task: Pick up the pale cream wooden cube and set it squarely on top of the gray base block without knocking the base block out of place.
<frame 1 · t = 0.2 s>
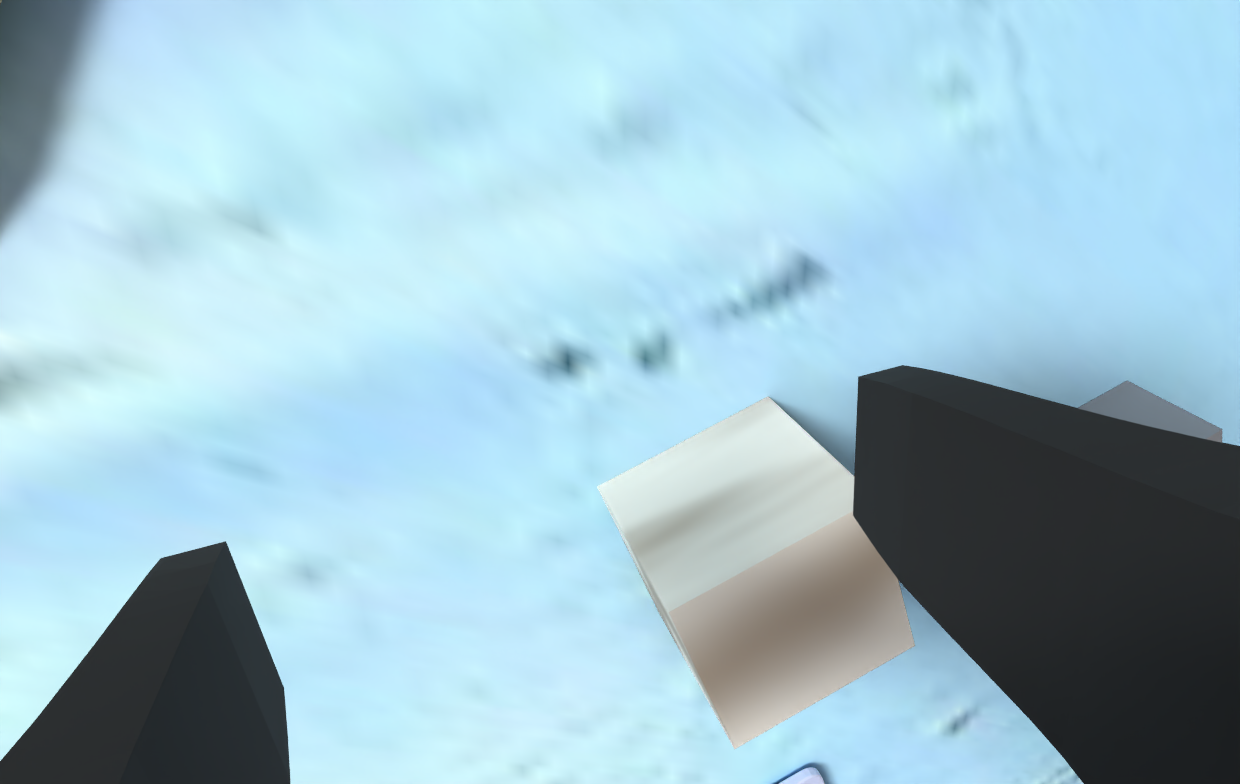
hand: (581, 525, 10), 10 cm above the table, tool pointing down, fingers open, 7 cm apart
cream cube: (710, 508, 23), on the table
gray base block: (1035, 509, 28), on the table
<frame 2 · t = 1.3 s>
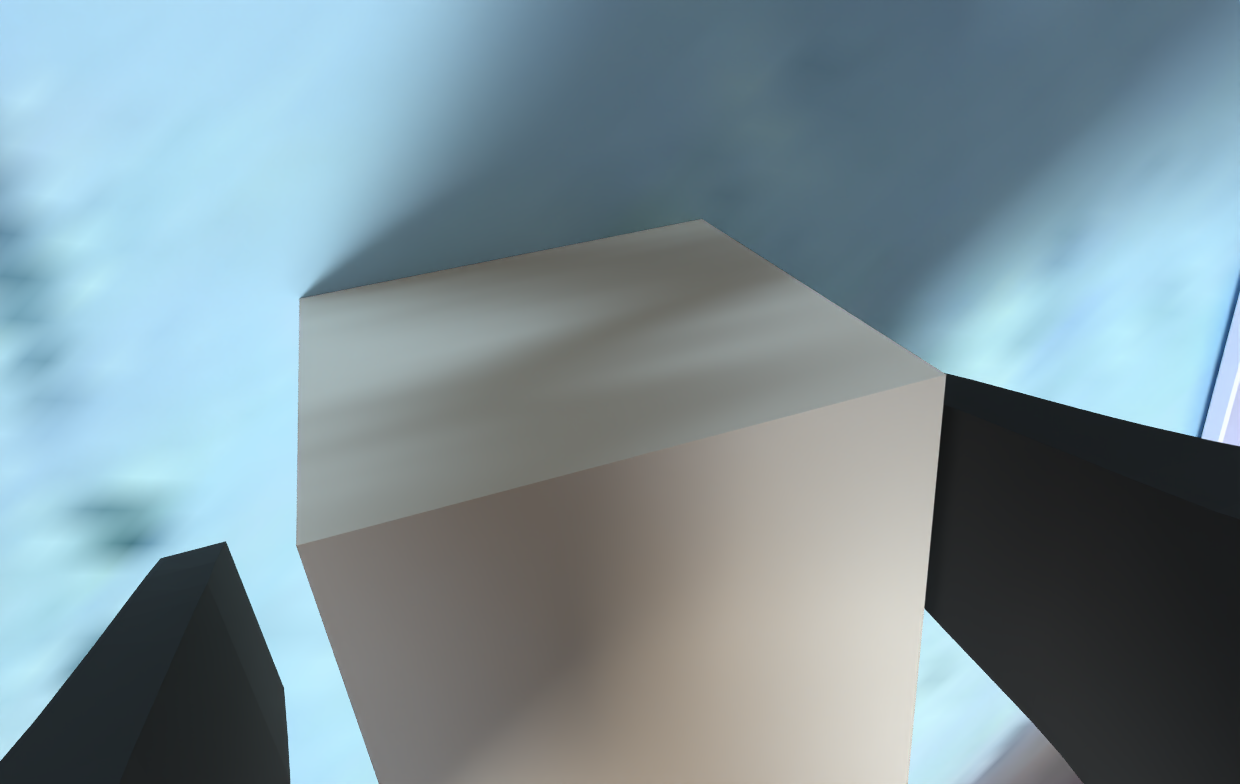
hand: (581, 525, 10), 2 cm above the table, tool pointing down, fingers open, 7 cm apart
cream cube: (539, 429, 12), on the table
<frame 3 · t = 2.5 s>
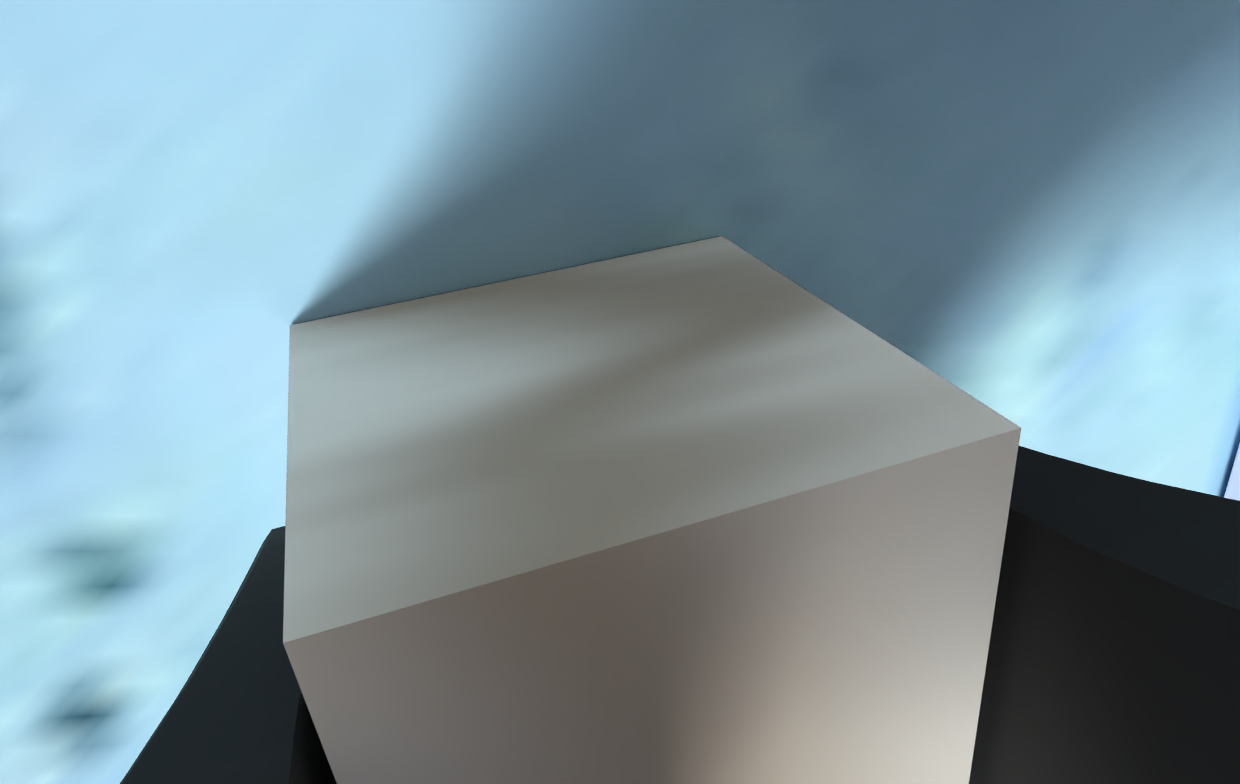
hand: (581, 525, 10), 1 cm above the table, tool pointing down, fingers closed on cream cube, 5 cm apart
cream cube: (549, 463, 11), on the table, touching gripper
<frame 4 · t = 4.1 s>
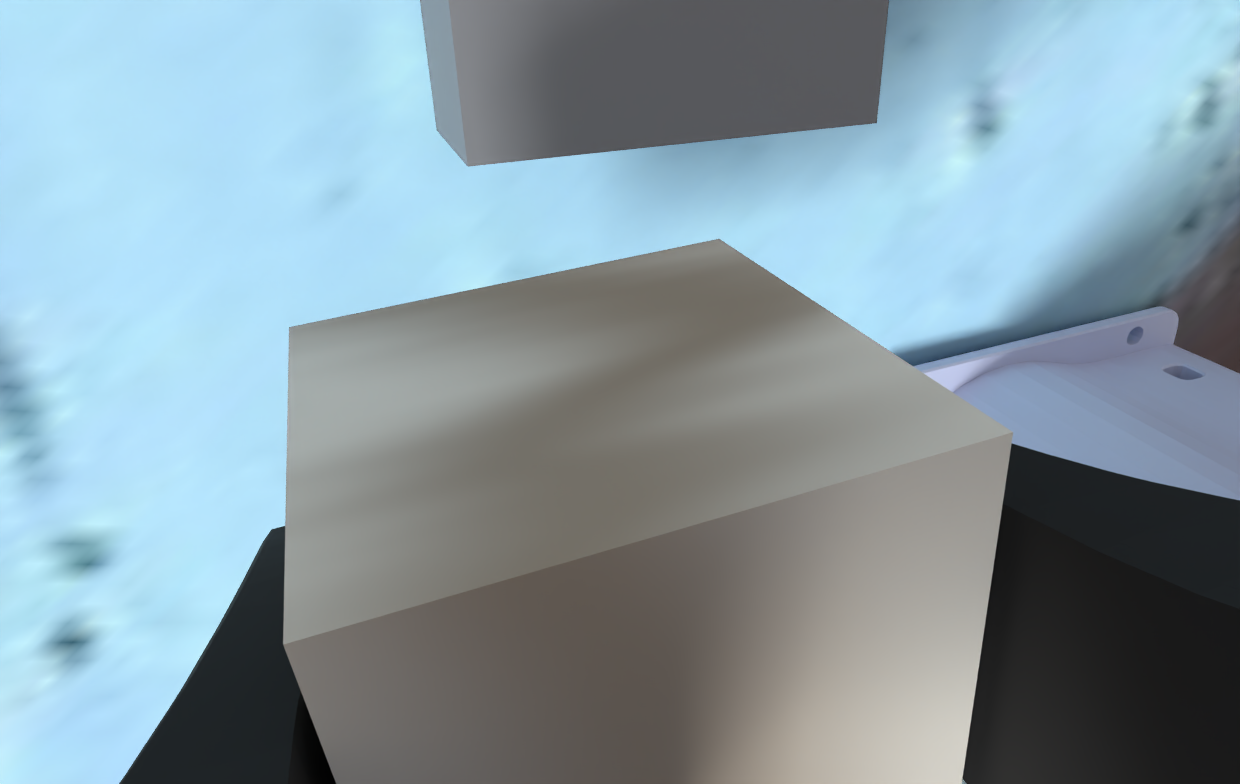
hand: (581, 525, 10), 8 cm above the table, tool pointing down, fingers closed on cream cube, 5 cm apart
cream cube: (546, 464, 11), point 7 cm above the table, touching gripper
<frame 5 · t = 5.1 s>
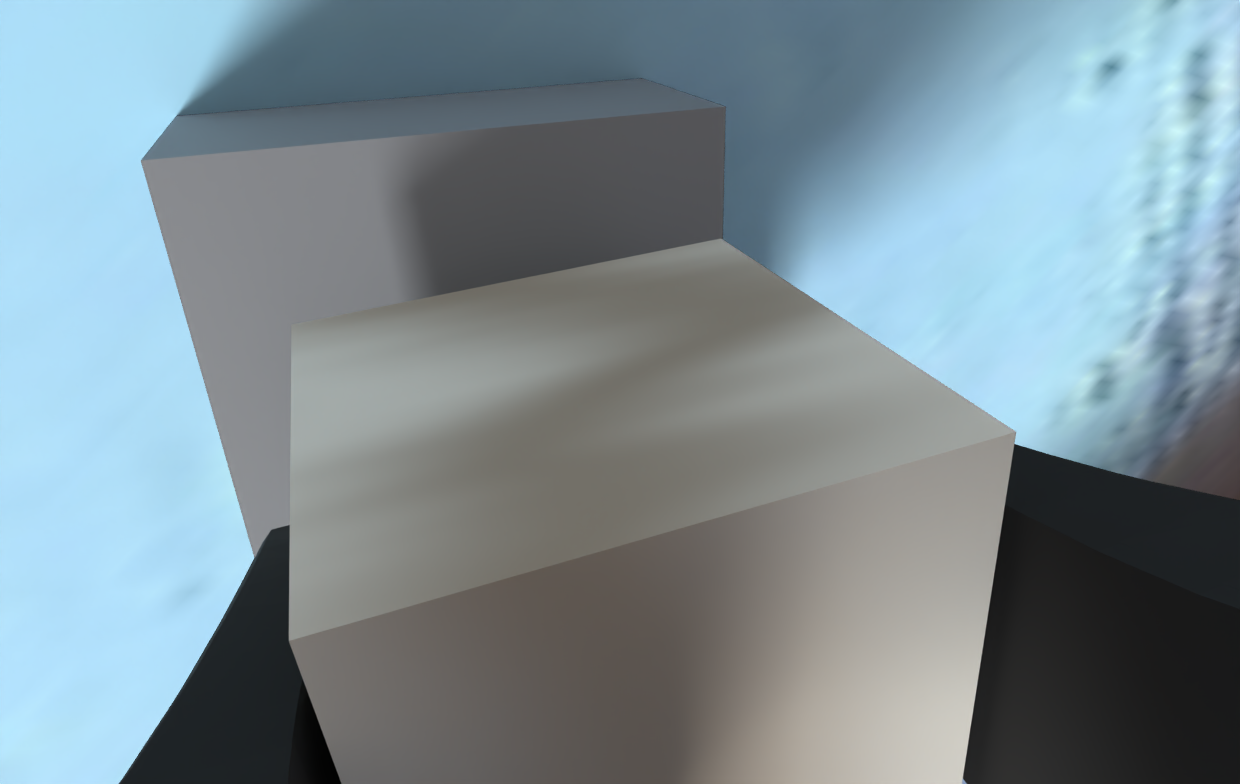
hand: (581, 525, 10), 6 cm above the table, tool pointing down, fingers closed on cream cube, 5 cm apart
cream cube: (547, 462, 11), point 5 cm above the table, touching gripper
gray base block: (451, 304, 15), on the table
when the fingers open (6 cm above the table, at t = 5.8 s): cream cube drops 2 cm, point 3 cm above the table.
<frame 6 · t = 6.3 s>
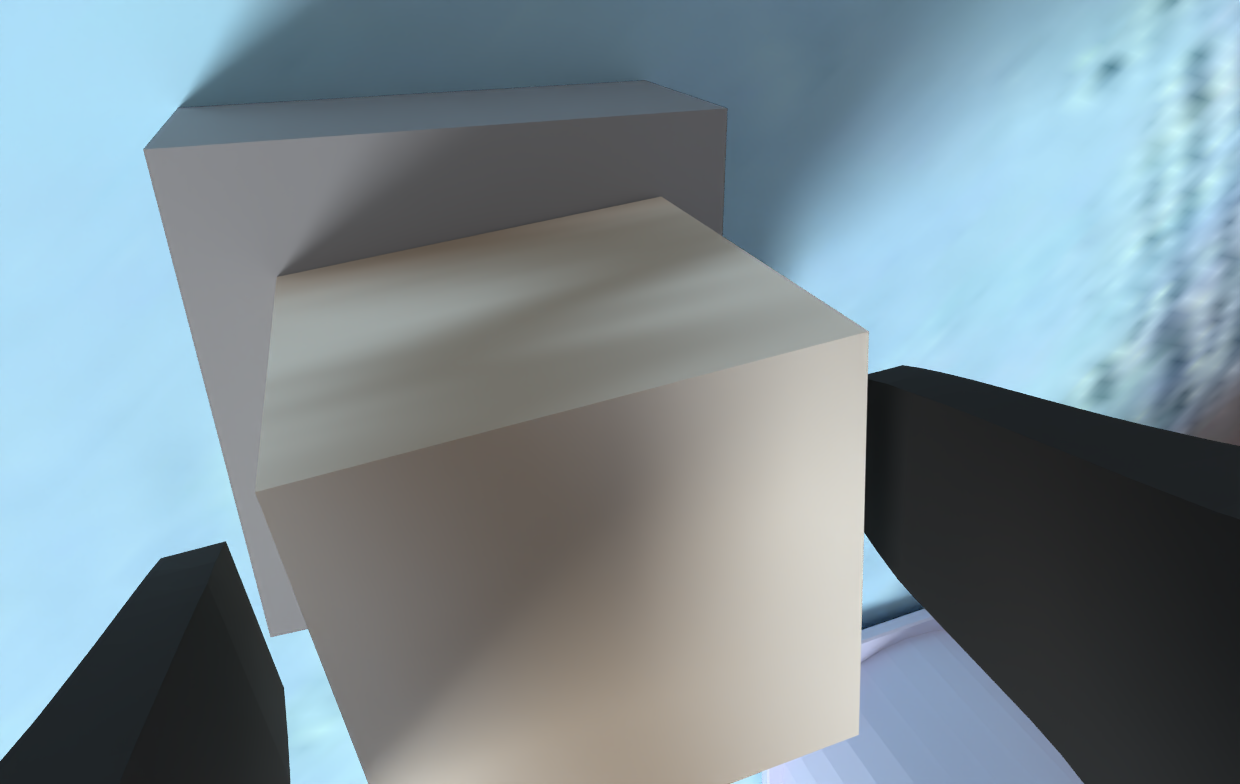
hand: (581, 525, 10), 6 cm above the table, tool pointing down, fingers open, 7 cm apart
cream cube: (512, 403, 12), point 3 cm above the table
gray base block: (449, 301, 15), on the table
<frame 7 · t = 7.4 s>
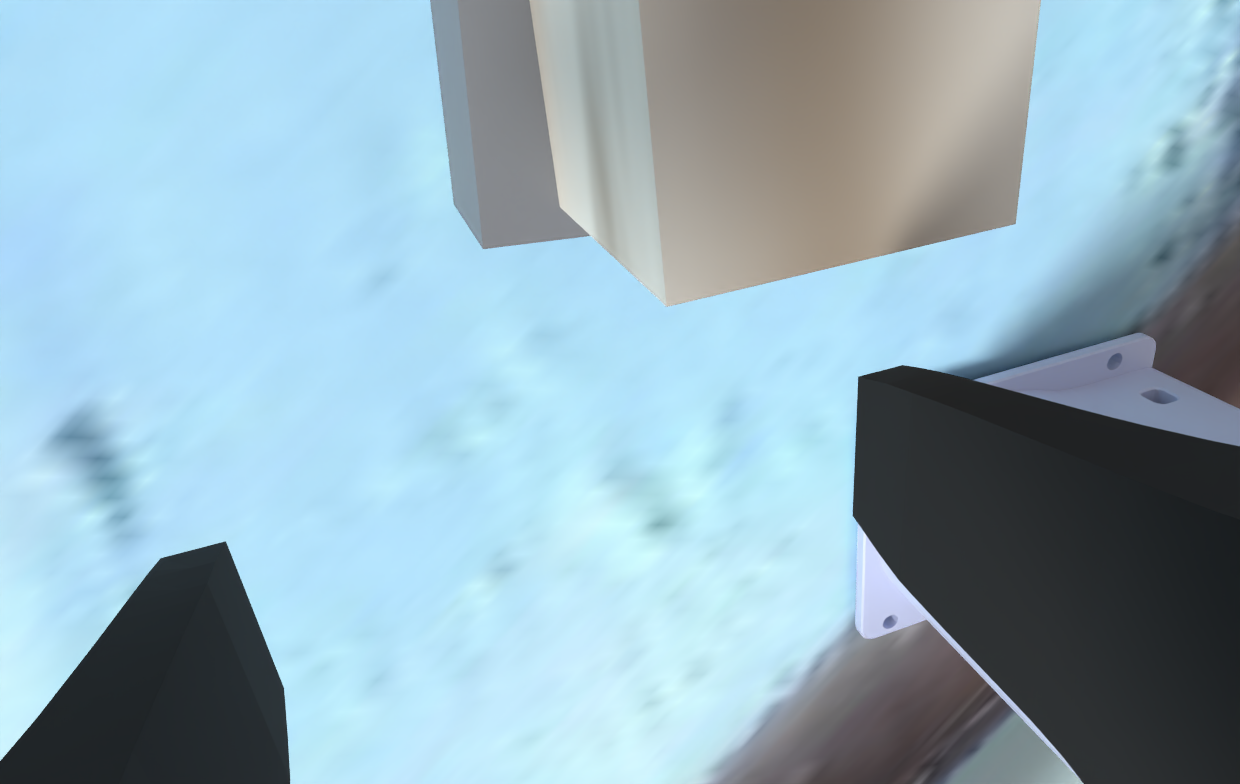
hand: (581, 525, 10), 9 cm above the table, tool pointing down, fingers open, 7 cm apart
cream cube: (685, 26, 14), point 3 cm above the table
gray base block: (609, 3, 17), on the table
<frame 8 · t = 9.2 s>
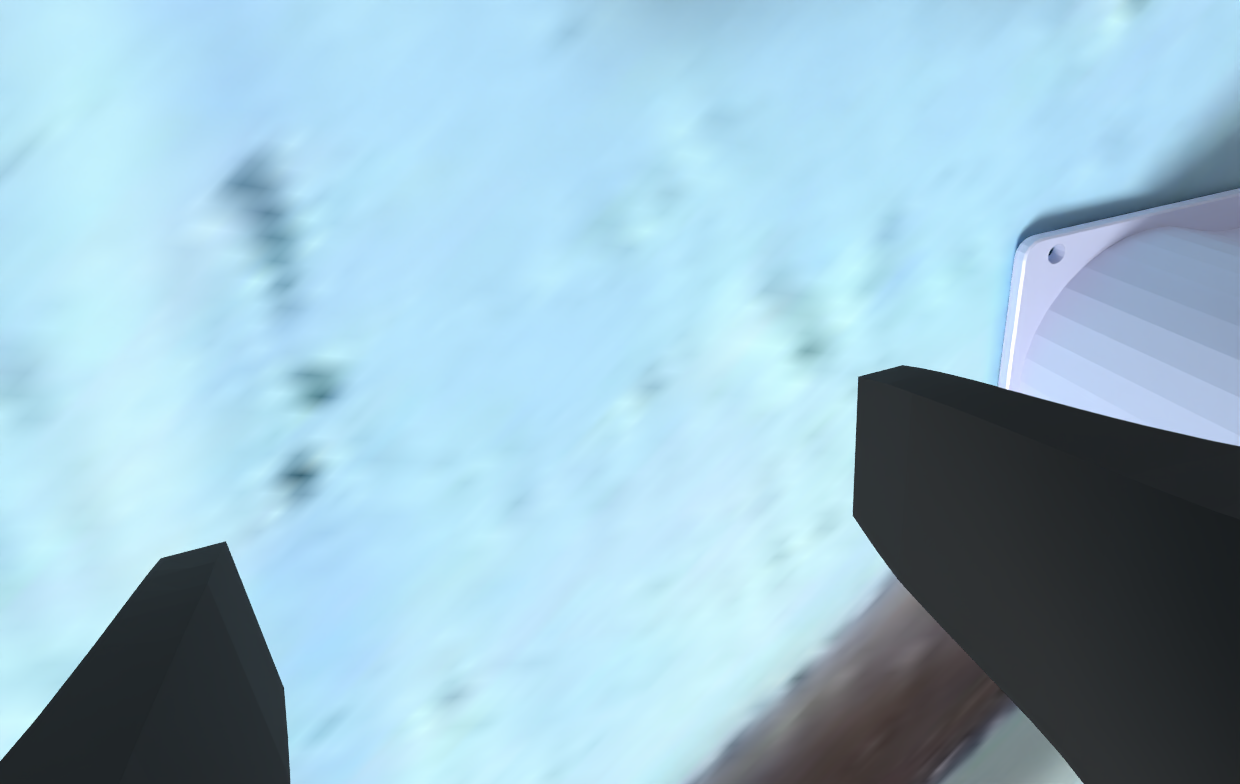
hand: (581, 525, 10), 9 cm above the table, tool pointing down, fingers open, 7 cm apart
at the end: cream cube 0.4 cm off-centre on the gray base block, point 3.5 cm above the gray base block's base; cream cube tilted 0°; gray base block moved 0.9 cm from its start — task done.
